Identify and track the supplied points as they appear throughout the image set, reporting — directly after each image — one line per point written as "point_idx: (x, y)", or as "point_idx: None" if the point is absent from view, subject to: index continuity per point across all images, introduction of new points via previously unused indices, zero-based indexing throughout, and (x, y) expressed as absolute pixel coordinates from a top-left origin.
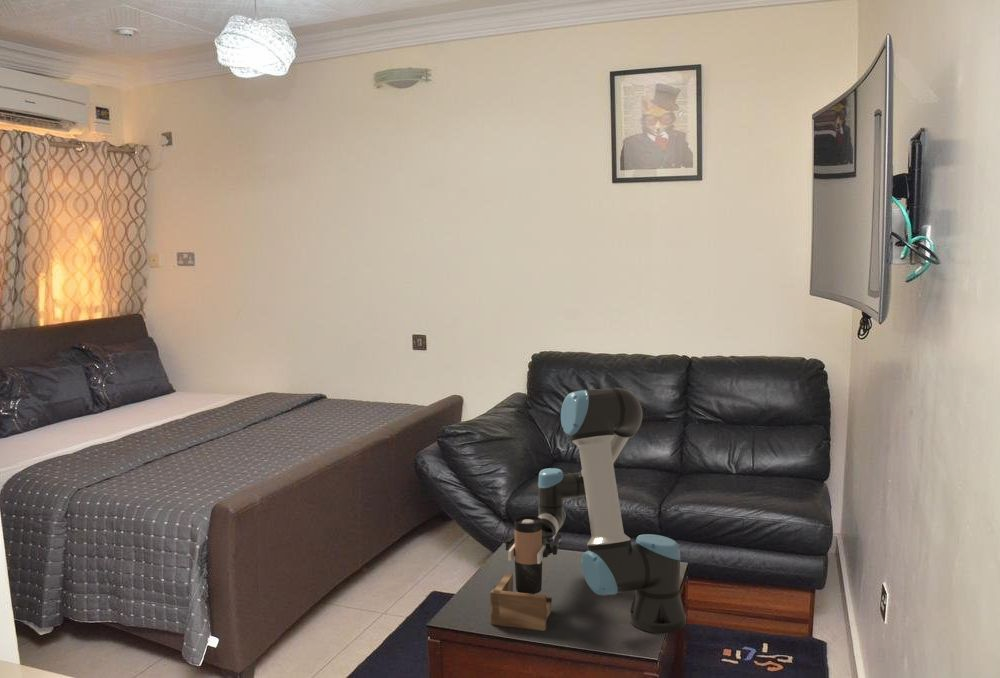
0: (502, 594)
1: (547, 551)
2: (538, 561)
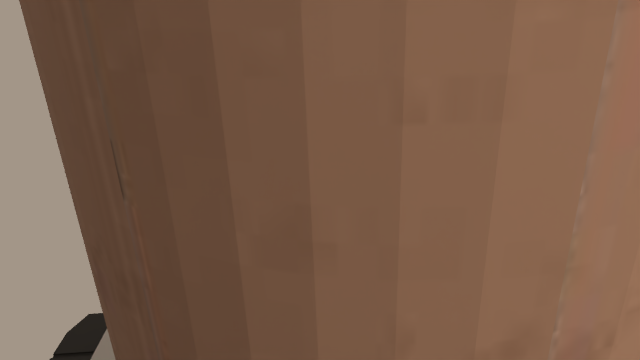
0: None
1: (58, 346)
2: None
